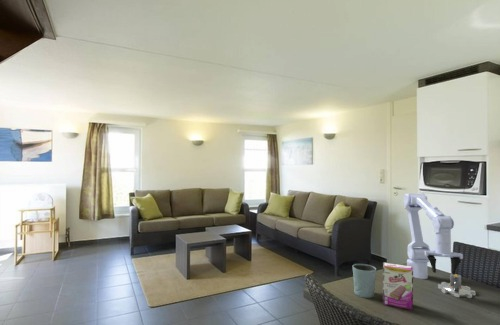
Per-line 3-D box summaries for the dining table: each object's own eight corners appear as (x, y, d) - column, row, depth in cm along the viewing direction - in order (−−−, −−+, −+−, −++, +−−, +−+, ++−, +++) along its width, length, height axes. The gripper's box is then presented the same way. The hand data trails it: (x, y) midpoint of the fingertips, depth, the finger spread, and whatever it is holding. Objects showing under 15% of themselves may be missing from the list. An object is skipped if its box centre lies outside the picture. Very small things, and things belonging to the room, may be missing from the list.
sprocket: (438, 293, 128) (437, 280, 128) (438, 282, 140) (437, 271, 140) (476, 300, 121) (476, 287, 121) (473, 289, 132) (473, 277, 132)
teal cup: (348, 293, 129) (348, 267, 129) (357, 287, 137) (357, 261, 137) (371, 300, 122) (371, 272, 123) (379, 293, 130) (379, 266, 130)
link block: (450, 285, 132) (450, 275, 132) (450, 282, 135) (450, 273, 136) (461, 287, 130) (461, 277, 130) (460, 284, 133) (460, 274, 133)
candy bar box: (382, 305, 118) (382, 265, 119) (382, 300, 123) (382, 262, 123) (413, 310, 114) (413, 269, 114) (412, 305, 118) (412, 265, 119)
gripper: (427, 243, 127) (428, 274, 127) (465, 246, 123) (466, 277, 123) (423, 239, 134) (423, 269, 133) (458, 242, 130) (459, 272, 129)
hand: (443, 272), depth 128 cm, fingers open, 7 cm apart
